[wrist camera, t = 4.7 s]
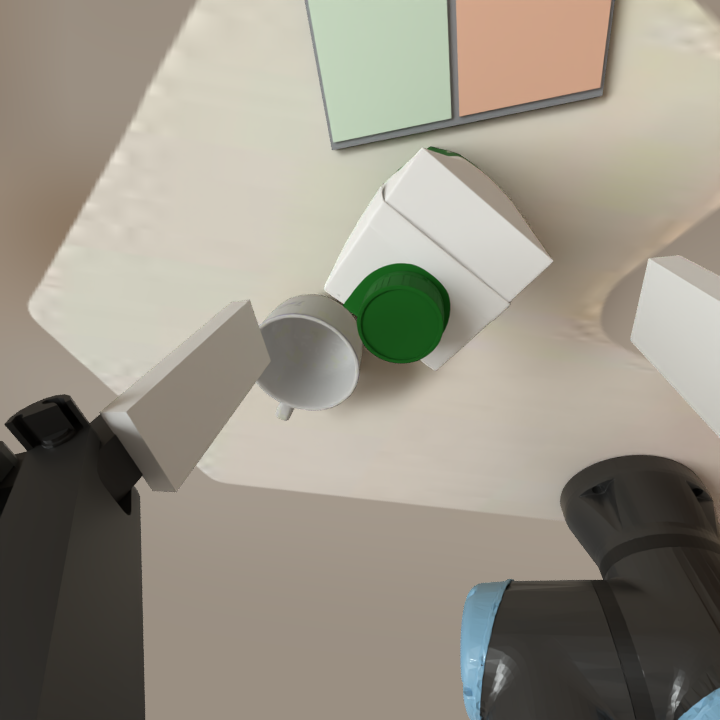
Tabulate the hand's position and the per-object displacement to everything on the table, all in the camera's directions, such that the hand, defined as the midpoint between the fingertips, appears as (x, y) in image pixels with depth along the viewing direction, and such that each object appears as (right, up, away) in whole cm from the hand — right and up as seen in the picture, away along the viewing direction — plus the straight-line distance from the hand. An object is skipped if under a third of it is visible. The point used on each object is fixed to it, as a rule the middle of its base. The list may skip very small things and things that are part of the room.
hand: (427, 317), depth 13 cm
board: (+4, +22, +13) cm, 26 cm away
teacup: (-7, +1, +29) cm, 30 cm away
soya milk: (+4, +12, +20) cm, 23 cm away
